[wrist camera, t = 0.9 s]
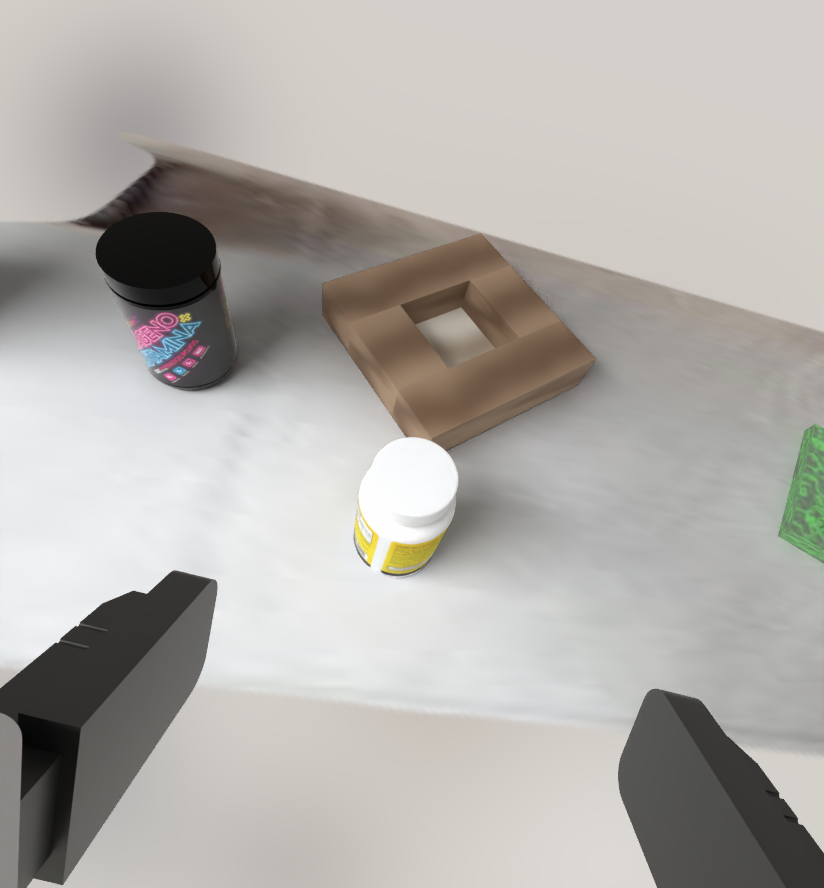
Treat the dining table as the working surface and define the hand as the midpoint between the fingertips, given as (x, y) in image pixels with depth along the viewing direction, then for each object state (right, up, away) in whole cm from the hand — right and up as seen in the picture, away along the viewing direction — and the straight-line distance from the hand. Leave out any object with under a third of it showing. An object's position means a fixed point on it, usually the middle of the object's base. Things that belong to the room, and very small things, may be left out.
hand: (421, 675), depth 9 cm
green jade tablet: (+36, -2, +33) cm, 49 cm away
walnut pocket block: (+3, +12, +35) cm, 37 cm away
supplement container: (-17, +11, +31) cm, 37 cm away
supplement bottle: (-1, -2, +26) cm, 26 cm away
